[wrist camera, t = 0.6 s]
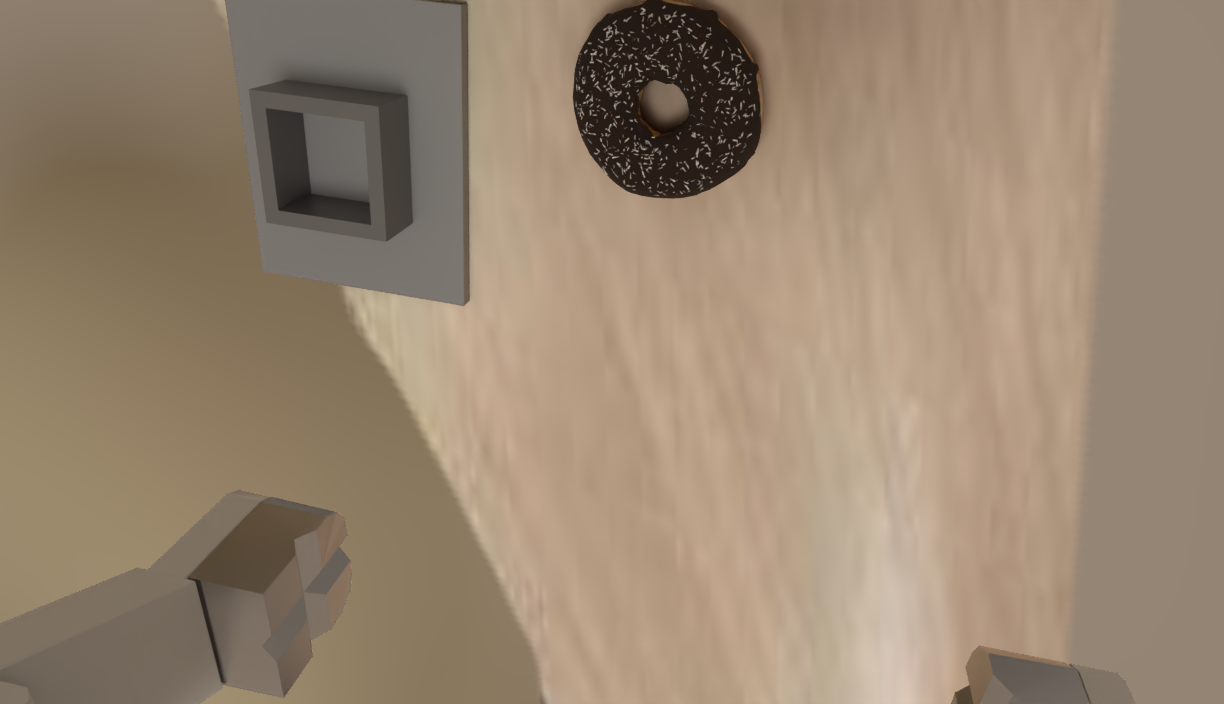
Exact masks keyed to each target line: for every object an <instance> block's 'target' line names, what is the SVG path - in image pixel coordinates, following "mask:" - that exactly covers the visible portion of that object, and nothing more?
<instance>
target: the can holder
mask: <svg viewBox="0 0 1224 704" xmlns="http://www.w3.org/2000/svg"><path fill="white" fill-rule="evenodd" d="M225 4H226V11H227V18H228V25H229V32H230V39H231V46H232V54H233V61H234V68H235V75H236V82H237V89H238V96H239V103H240V110H241V118H242V125H243V132H244V139H245V146H246V153H247V160H248V167H249V174H250V181H251V188H252V196H253V202H254V210H255V217H256V224H257V231H258V238H259V245H260V252H261V260H262V267H263V271H264V272H268V273H275V274H281V275H286V276H292V277H298V278H303V279H309V280H316V281H321V282H327V283H333V284H339V285H344V286H350V287H356V288H362V289H368V290H374V291H380V292H386V293H391V294H397V295H403V296H409V297H415V298H421V299H427V300H432V301H438V302H444V303H450V304H456V305H462V306H464V305H465V304H466V303H467V302H468V301H469V193H468V39H467V4H461V3H452V2H443V1H434V0H225Z"/></svg>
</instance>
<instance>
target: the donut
mask: <svg viewBox="0 0 1224 704" xmlns="http://www.w3.org/2000/svg"><path fill="white" fill-rule="evenodd" d="M574 68H575V74H574V91H573V102H574V110H575V115H576V120H577V124H578V128H579V131H580V134H581V136H582V139H583V141H584V143H585V145H586V147H587V149H588V151H589V153H590V155H591V156H592V157H593V159H594V160H595V161H596V162H597V164H598V165H599V166H600V167H601V168H602V169H603V171H604V173H606V174H607V175H608V176H609V177H610V178H611V179H612V180H613V181H614V182H615V183H616V184H617V185H619V186H620V187H622V188H623V189H625V190H626V191H628V192H630V193H634V194H638V195H641V196H647V197H654V198H684V197H689V196H694V195H697V194H699V193H701V192H704V191H707V190H710V189H711V188H713V187H715V186H717V185H719V184H720V183H722V182H724V181H725V180H727V179H728V178H730V177H731V176H733V175H735V174H736V173H737V172H738V171H740V170H741V169H742V168H743V167H744V166H745V165H746V163H747V161H748V160H749V159H750V158H751V157H752V156H753V155H754V153H755V150H756V148H757V145H758V143H759V139H760V133H761V126H762V119H763V112H764V102H763V93H762V84H761V78H760V75H759V73H758V70H759V68H758V65H757V64H755V63H754V61H753V59H752V56H751V55H750V53H749V52H748V50H747V49H746V47H745V46H744V44H743V43H742V41H741V40H740V39H739V38H738V37H737V36H736V35H735V34H734V33H733V32H732V31H731V30H730V29H729V28H728V27H727V26H726V25H725V24H724V23H723V22H722V21H721V20H720V19H718V15H717V12H715V11H713V10H702V9H700V8H698V7H695V6H693V5H691V4H688V3H683V2H678V1H674V0H647V1H645V2H642V3H639V4H636V5H634V6H631V7H629V8H626V9H623V10H621V11H618V12H616V13H614V14H607V15H606V16H605V17H604V18H603V19H602V20H601V21H600V22H599V23H597V25H596V26H595V27H594V28H593V30H592V32H591V33H590V35H589V37H588V39H587V41H586V42H585V44H584V45H583V47H582V49H581V51H580V54H579V56H578V60H577V63H576V65H575V67H574ZM653 80H657V81H660V82H663V83H665V84H672V83H673V84H675V85H676V86H678V87H679V88H680V89H681V91H682V92H683V94H684V95H685V97H686V99H687V102H688V107H689V112H690V115H689V118H688V119H687V120H686V121H685V122H684V123H683V124H682V125H680V126H679V127H678V128H677V129H675V130H669V131H666V132H664V133H662V134H661V133H659V132H656V131H654V130H653V129H652V128H651V127H650V126H649V125H648V124H647V123H646V122H645V121H644V119H643V118H642V117H641V112H640V100H641V97H642V94H643V90H644V87H645V86H646V85H647V84H648V83H649V82H650V81H653Z"/></svg>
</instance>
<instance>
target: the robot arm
mask: <svg viewBox="0 0 1224 704" xmlns="http://www.w3.org/2000/svg"><path fill="white" fill-rule="evenodd" d="M346 537H347V530H346V525H345V518H344V516H342V515H340V514H339V513H337V512H333V511H329V510H325V509H321V508H316V507H312V506H308V505H303V504H299V503H295V502H290V501H287V500H282V499H278V498H273V497H266V496H262V495H258V494H254V493H250V492H245V491H241V490H237V491H234V492H232V493H229V494H227V495H226V496H224V497H223V498H222V499H221V500H220V501H219V502H218V503H217V504H216V505H215V506H214V507H213V508H212V509H211V510H210V511H209V512H208V513H207V514H206V515H204V516H203V517H202V519H200V520H199V521H198V522H197V523H196V524H195V525H194V526H193V527H192V528H191V529H190V530H189V531H188V532H187V533H186V534H185V535H184V536H183V537H181V538H180V539H179V541H177V542H176V544H174V545H173V546H172V547H171V548H170V549H169V550H168V551H167V552H166V553H165V554H164V555H163V556H162V557H161V558H159V559H158V561H156V562H155V563H154V564H153V565H152V566H151V567H150V568H149V569H148V570H146V569H141V568H135V569H133V570H131V571H128V572H125V573H123V574H120V575H118V576H116V577H113V578H111V579H108V580H106V581H103V582H101V583H98V584H96V585H94V586H91V587H88V588H86V589H84V590H81V591H79V592H76V593H74V594H71V595H69V596H66V597H64V598H61V599H59V600H57V601H54V602H52V603H49V604H47V605H44V606H42V607H39V608H37V609H34V610H32V611H29V612H27V613H24V614H22V615H19V616H17V617H14V618H12V619H10V620H7V621H5V622H2V623H0V704H200V703H201V702H203V701H204V700H206V699H207V698H209V697H210V696H212V695H214V694H215V693H217V692H218V691H220V690H221V689H222V685H226V686H231V687H235V688H240V689H244V690H249V691H254V692H258V693H263V694H267V695H272V696H277V697H281V698H284V697H285V695H286V694H287V693H288V691H289V690H290V689H291V687H292V686H293V684H294V683H295V681H296V680H297V678H298V677H299V675H300V674H301V673H302V671H303V669H304V668H305V667H306V665H307V664H308V662H309V661H310V659H311V658H312V657H313V656H312V655H313V654H312V645H311V640H312V639H315V638H316V637H318V636H320V635H322V634H324V633H326V632H327V631H329V630H331V629H332V627H333V626H334V624H335V623H336V621H337V620H338V618H339V617H340V615H341V614H342V612H343V609H344V606H345V604H346V601H347V598H348V595H349V593H350V588H351V580H352V569H351V561H350V559H349V558H348V557H347V556H346V554H345V553H344V552H343V551H342V549H341V548H340V547H339V546H340V545H341V544H342V542H343V541H344V540H345V538H346ZM966 671H967V676H968V680H969V686H967V687H965V688H963V689H961V690H959V691H957V692H955V694H954V697H953V700H952V703H951V704H1135V701H1134V699H1133V697H1132V694H1131V692H1130V690H1129V688H1128V686H1127V683H1126V681H1125V680H1124V679H1123V678H1122V677H1121V676H1120V675H1119V674H1118V673H1115V672H1109V671H1105V670H1100V669H1095V668H1090V667H1084V666H1080V665H1075V664H1066V663H1064V662H1059V661H1054V660H1049V659H1044V658H1039V657H1034V656H1029V655H1024V654H1019V653H1014V652H1009V651H1004V650H999V649H994V648H989V647H984V646H978V647H977V648H976V649H975V650H974V651H973V652H972V654H971V656H970V659H969V661H968V663H967V665H966Z"/></svg>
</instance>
